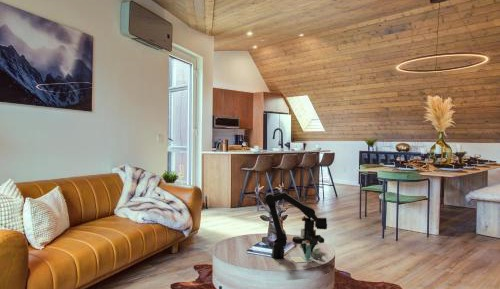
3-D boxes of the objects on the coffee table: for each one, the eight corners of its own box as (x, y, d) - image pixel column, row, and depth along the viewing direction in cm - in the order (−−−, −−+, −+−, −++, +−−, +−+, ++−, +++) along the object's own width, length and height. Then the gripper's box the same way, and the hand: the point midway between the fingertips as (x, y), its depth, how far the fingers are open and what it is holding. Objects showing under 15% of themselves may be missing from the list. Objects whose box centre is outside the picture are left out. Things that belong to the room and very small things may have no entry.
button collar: (314, 259, 218) (314, 255, 218) (310, 256, 223) (310, 252, 223) (321, 258, 220) (322, 254, 220) (317, 255, 224) (318, 252, 224)
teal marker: (306, 258, 214) (306, 245, 214) (303, 256, 218) (304, 243, 218) (311, 258, 216) (312, 244, 215) (308, 256, 219) (309, 243, 219)
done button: (315, 256, 219) (315, 249, 219) (312, 254, 222) (312, 247, 222) (320, 256, 220) (320, 248, 220) (317, 254, 224) (317, 247, 223)
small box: (306, 250, 235) (307, 230, 234) (299, 247, 240) (300, 228, 240) (315, 248, 239) (316, 229, 239) (308, 246, 244) (309, 226, 244)
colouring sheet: (295, 262, 210) (295, 262, 210) (289, 258, 218) (289, 257, 218) (315, 261, 214) (315, 260, 214) (309, 257, 222) (309, 256, 222)
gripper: (300, 232, 206) (299, 259, 206) (329, 231, 211) (328, 257, 212) (292, 227, 216) (291, 253, 217) (320, 226, 222) (319, 251, 222)
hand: (307, 253), depth 217 cm, fingers closed on teal marker, 3 cm apart
